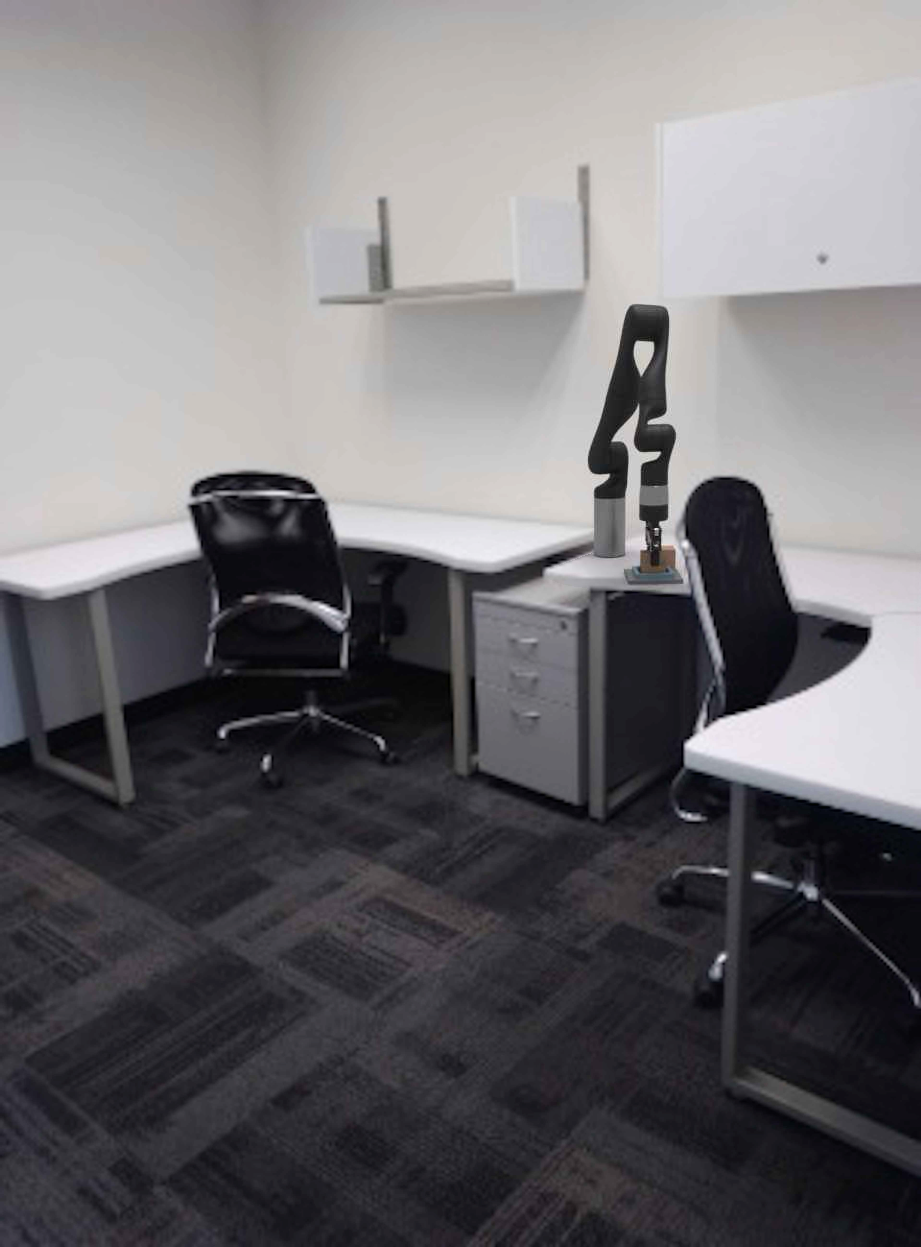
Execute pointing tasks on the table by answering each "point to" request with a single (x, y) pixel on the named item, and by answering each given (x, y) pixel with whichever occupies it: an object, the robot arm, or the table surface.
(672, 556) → the terracotta block
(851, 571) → the table surface
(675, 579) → the baseplate
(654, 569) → the walnut block
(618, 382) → the robot arm
